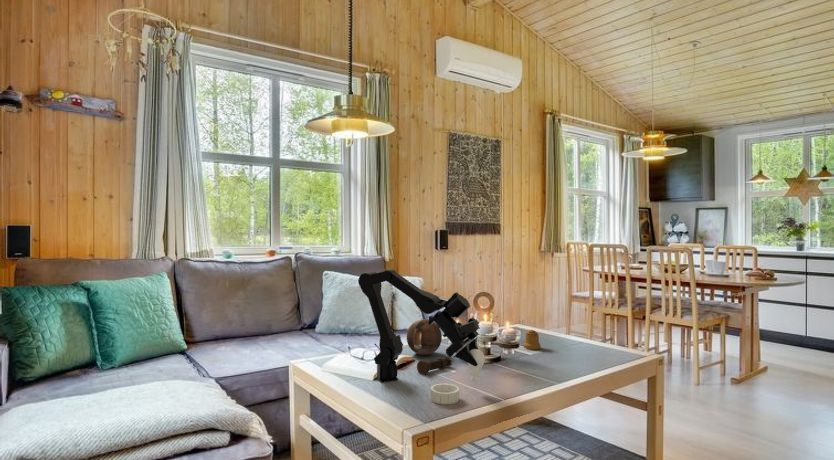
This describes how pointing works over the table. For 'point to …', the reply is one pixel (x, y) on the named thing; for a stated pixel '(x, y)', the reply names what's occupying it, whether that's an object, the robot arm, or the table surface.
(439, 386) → the ring
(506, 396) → the table surface
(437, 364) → the bolt
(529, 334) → the brass bell
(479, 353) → the lightbulb
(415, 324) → the wooden sphere
